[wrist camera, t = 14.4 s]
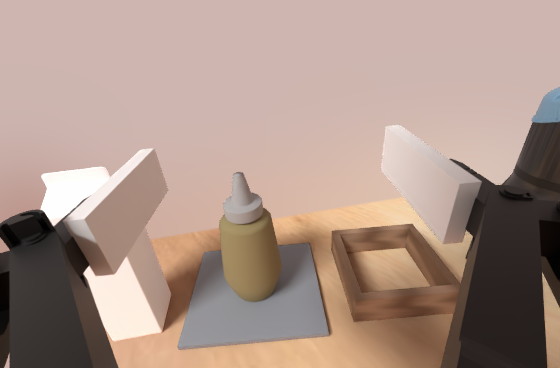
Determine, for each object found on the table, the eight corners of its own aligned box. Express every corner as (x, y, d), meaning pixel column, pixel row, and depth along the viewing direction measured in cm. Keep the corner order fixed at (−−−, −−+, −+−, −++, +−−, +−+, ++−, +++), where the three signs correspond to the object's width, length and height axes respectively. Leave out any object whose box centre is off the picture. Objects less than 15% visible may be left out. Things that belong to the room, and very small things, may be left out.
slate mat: (309, 245, 46) (309, 242, 46) (328, 336, 32) (328, 333, 32) (205, 254, 46) (204, 252, 46) (178, 349, 32) (177, 346, 32)
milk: (162, 333, 34) (92, 181, 23) (112, 342, 33) (16, 190, 23) (172, 293, 39) (118, 154, 29) (128, 300, 39) (57, 161, 28)
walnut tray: (408, 242, 45) (412, 223, 43) (456, 312, 34) (465, 290, 32) (331, 249, 45) (331, 230, 43) (354, 321, 33) (356, 300, 32)
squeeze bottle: (234, 265, 42) (212, 161, 34) (284, 264, 42) (276, 158, 33) (221, 310, 35) (190, 194, 27) (282, 310, 35) (271, 191, 26)
